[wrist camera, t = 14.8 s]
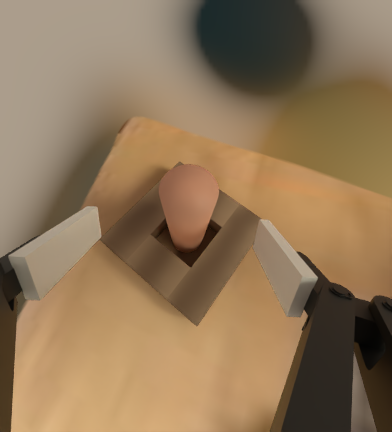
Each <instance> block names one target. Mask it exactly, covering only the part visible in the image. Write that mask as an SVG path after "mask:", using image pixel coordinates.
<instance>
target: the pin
mask: <svg viewBox="0 0 392 432" xmlns="http://www.w3.org/2000/svg"><path fill="white" fill-rule="evenodd" d="M218 196H219V187H218V183H217V181H216V179H215V177H214V176H213V175H212V174H211V173H210V172H209V171H208V170H206V169H204V168H202V167H200V166H197V165H191V164H186V165H180V166H177V167H174V168H172V169H171V170H169V171H168V172H167V173H166V174H165V175H164V176H163V178H162V179H161V181H160V184H159V197H160V200H161V204H162V207H163V210H164V214H165V217H166V221H167V224H168V228H169V231H170V235H171V238H172V242H173V245H174V246H175V248H176V249H178V250H179V251H181V252H184V253H189V252H193V251H195V250H196V249H197V248H198V247H199V246H200V244H201V242H202V239H203V237H204V234H205V231H206V229H207V226H208V223H209V221H210V218H211V216H212V213H213V210H214V208H215V205H216V202H217V200H218Z"/></svg>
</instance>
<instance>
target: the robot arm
mask: <svg viewBox="0 0 392 432" xmlns="http://www.w3.org/2000/svg"><path fill="white" fill-rule="evenodd" d="M101 237H102V235H101V228H100V222H99V215H98V208H97V207H94V206H87V207H85V208H84V209H82V210H80V211H79V212H77V213H76V214H74V215H73V216H71V217H69V218H68V219H66V220H65V221H63V222H61V223H60V224H58V225H57V226H55V227H53V228H52V229H50V230H49V231H47V232H46V233H44V234H42V235H39V236H37V237H34V238H32V239H31V240H29V241H28V242H26V243H24V244H23V245H21V246H20V247H18V248H16V249H14V250H13V251H11V252H10V253H8V254H6V255H5V256H3V257H1V258H0V432H11V417H12V398H13V379H14V360H15V341H16V322H17V303H18V302H17V299H16V296H17V295H18V294H19V293H20V292H21V291H22V292H23V295H24V297H25V299H26V300H41V299H42V298H43V297H44V296H45V295H46V294H47V293H48V292H49V291H50V290H51V289H52V288H53V287H54V286H55V285H56V284H57V283H58V282H59V281H60V279H61V278H62V277H63V276H64V275H65V274H66V273H67V272H68V271H69V270H70V269H71V268H72V267H73V266H74V265H75V264H76V263H77V262H78V261H79V260H80V259H81V258H82V257H83V256H84V255H85V254H86V252H87V251H88V250H89V249H90V248H91V247H92V246H93V245H94V244H95V243H96V242H97V241H98V240H99V239H100V238H101ZM253 250H254V252H255V254H256V256H257V258H258V260H259V262H260V264H261V266H262V268H263V270H264V272H265V274H266V276H267V278H268V280H269V282H270V284H271V286H272V288H273V290H274V292H275V294H276V296H277V298H278V300H279V302H280V304H281V306H282V308H283V310H284V312H285V314H286V316H288V317H301V315H302V313H303V310H305V311H306V313H307V315H308V318H307V320H306V322H305V324H304V326H303V328H302V331H303V332H302V335H301V338H300V341H299V344H298V347H297V350H296V353H295V356H294V359H293V362H292V365H291V368H290V371H289V374H288V377H287V380H286V384H285V387H284V390H283V393H282V396H281V399H280V402H279V405H278V408H277V411H276V414H275V417H274V420H273V423H272V426H271V429H270V432H351V407H352V381H353V356H354V352H355V355H356V359H357V362H358V366H359V369H360V373H361V376H362V380H363V383H364V387H365V390H366V394H367V397H368V401H369V404H370V408H371V411H372V415H373V418H374V422H375V425H376V428H377V432H392V299H390V298H388V297H384V296H375V297H374V298H373V299H372V301H371V302H368V301H365V300H361V299H358V298H355V296H354V295H353V294H352V293H351V292H350V291H349V290H347V289H346V288H344V287H343V286H341V285H338V284H336V283H331V282H330V281H329V280H328V279H327V278H326V277H325V276H324V275H323V274H322V273H321V272H320V270H319V269H318V268H316V266H315V265H314V264H313V263H312V262H311V261H310V259H309V258H308V257H307V256H305V255H304V254H302V253H301V252H296V251H295V250H294V249H293V248H292V247H291V245H290V244H289V243H288V242H287V241H286V240H285V238H284V237H283V236H282V235H281V234H280V233H279V231H278V230H277V229H276V228H275V227H274V226H273V224H272V223H271V222H270V221H269V220H262V219H260V220H259V224H258V228H257V232H256V236H255V240H254V244H253Z"/></svg>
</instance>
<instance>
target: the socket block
mask: <svg viewBox="0 0 392 432" xmlns="http://www.w3.org/2000/svg"><path fill="white" fill-rule="evenodd" d="M180 165H184V164H182V163H181V162H179V163H177V164H176V165H175V166H174V167H177V166H180ZM174 167H173V168H174ZM160 181H161V180H160ZM160 181H159V182H158V183H157V184H156V185H155V186H154V187H153V188H152V189H151V190H150V191H149V192H148V193H147V194H146V195H145V196H144V197H143V198H142V199H141V200H139V201H138V202H137V203H136V204H135V205H134V206H133V207H132V208H131V209H130V210H129V211H128V212H127V213H126V214H125V215H124V216H123V217H122V218H121V219H120V220H119V221H118V222H117V223H116V224H115V225H114V226H113V227H112V228H111V229H110V230H109V231H108V232H107V233H106V234H105V235H104V236H103V237H101V238H100V239H99V240H101V241H102V242H103V243H104V244H105V245H106V246H107V247H108V248H109V249H111V250H112V251H113V252H114V253H115V254H116V255H117V256H118V257H120V258H121V259H122V260H123V261H124V262H125V263H126V264H127V265H128V266H130V267H131V268H132V269H133V270H134V271H135V272H136V273H137V274H139V275H140V276H141V277H142V278H143V279H144V280H145V281H146V282H148V283H149V284H150V285H151V286H152V287H153V288H154V289H155V290H156V291H158V292H159V293H160V294H161V295H162V296H163V297H164V298H165V299H167V300H168V301H169V302H170V303H171V304H172V305H173V306H174V307H175V308H177V309H178V310H179V311H180V312H181V313H182V314H183V315H184V316H186V317H187V318H188V319H189V320H190V321H191V322H192V323H193V324H195V325H196V326H198V325H199V323H200V322H201V320H202V319H203V317H204V316H205V314H206V313H207V311H208V310H209V308H210V307H211V305H212V304H213V302H214V301H215V299H216V298H217V296H218V295H219V293H220V292H221V290H222V289H223V287H224V286H225V285H226V283H227V282H228V280H229V279H230V277H231V276H232V274H233V273H234V271H235V270H236V268H237V267H238V265H239V264H240V262H241V261H242V259H243V258H244V256H245V255H246V253H247V252H248V250H249V249H250V247H251V246H252V244H253V243H254V240H255V236H256V232H257V228H258V224H259V220H260V219H261V218H259V217H258V216H257V215H255V214H254V213H252V212H251V211H250V210H248V209H247V208H245V207H244V206H242V205H241V204H240V203H238V202H237V201H235V200H234V199H232V198H231V197H230V196H228V195H227V194H225V193H224V192H222V191H221V190H220V189H219V196H218V200H217V202H216V205H215V208H214V210H213V213H212V216H211V218H210V221H209V223H208V227H209V228H211V229H212V230H213V231H215V232H216V233H217V235H216V236H215V237H214V238H213V240H212V241H211V242H210V244H209V245H208V246H207V248H206V249H205V250H204V251H203V253H202V254H201V255H200V257H199V258H198V259H197V260H196V262H195V263H194V264H193V266H192V267H191V268H190V267H189V266H188V265H187V264H186V263H184V262H183V261H182V260H181V259H179V258H178V257H177V256H176V255H175V254H173V253H172V252H171V251H170V250H169V249H167V248H166V247H165V246H164V245H163V244H161V243H160V242H159V241H158V240H156V238H157V237H158V236H159V235H160V234H161V233H162V231H163V230H164V229H165V228H166V227H167V226H168V224H167V221H166V217H165V214H164V210H163V207H162V204H161V200H160V197H159V184H160Z"/></svg>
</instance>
